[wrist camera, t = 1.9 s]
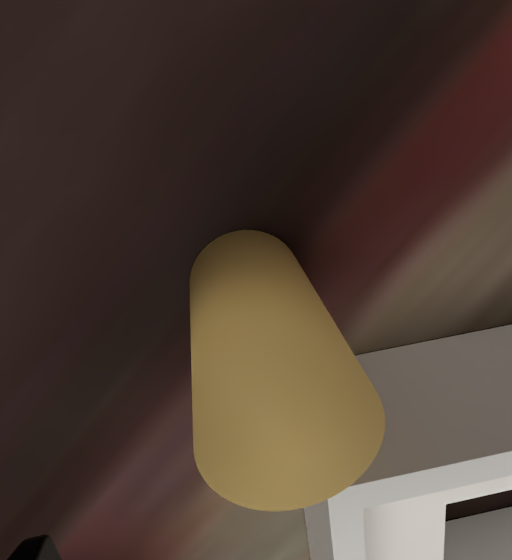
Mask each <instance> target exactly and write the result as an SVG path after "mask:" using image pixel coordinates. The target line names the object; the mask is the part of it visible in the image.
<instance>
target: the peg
mask: <svg viewBox="0 0 512 560" xmlns="http://www.w3.org/2000/svg"><path fill="white" fill-rule="evenodd" d="M190 326H191V368H192V409H193V451H194V457H195V462H196V464H197V467H198V470H199V472H200V474H201V475H202V477H203V479H204V480H205V481H206V483H207V484H208V485H209V486H210V487H211V488H212V489H213V490H214V491H215V492H216V493H217V494H219V495H220V496H222V497H223V498H225V499H227V500H229V501H231V502H232V503H234V504H237V505H240V506H243V507H246V508H250V509H255V510H262V511H288V510H294V509H300V508H304V507H308V506H312V505H315V504H317V503H320V502H323V501H325V500H327V499H329V498H331V497H333V496H335V495H337V494H338V493H340V492H342V491H343V490H345V489H346V488H347V487H349V486H350V485H351V484H353V483H354V482H355V481H356V480H357V479H358V478H359V477H360V476H361V475H362V474H363V473H364V472H365V471H366V470H367V469H368V467H369V466H370V465H371V463H372V462H373V460H374V459H375V457H376V455H377V453H378V451H379V449H380V446H381V444H382V441H383V437H384V432H385V414H384V409H383V405H382V402H381V400H380V398H379V395H378V393H377V392H376V390H375V388H374V387H373V385H372V383H371V382H370V380H369V378H368V377H367V375H366V373H365V372H364V370H363V368H362V367H361V365H360V364H359V362H358V360H357V359H356V357H355V355H354V354H353V352H352V350H351V349H350V347H349V345H348V344H347V342H346V340H345V339H344V337H343V335H342V334H341V332H340V330H339V329H338V327H337V326H336V324H335V322H334V321H333V319H332V317H331V316H330V314H329V312H328V311H327V309H326V307H325V306H324V304H323V302H322V301H321V299H320V297H319V296H318V294H317V292H316V291H315V289H314V288H313V286H312V284H311V283H310V281H309V279H308V278H307V276H306V274H305V273H304V271H303V269H302V268H301V266H300V264H299V263H298V261H297V259H296V258H295V256H294V254H293V253H292V252H291V250H290V249H289V248H288V247H287V246H286V245H285V244H284V243H283V242H282V241H281V240H279V239H278V238H276V237H274V236H273V235H270V234H268V233H265V232H261V231H256V230H239V231H234V232H230V233H227V234H224V235H222V236H220V237H218V238H216V239H215V240H213V241H212V242H211V243H209V244H208V245H207V246H206V247H205V248H204V249H203V250H202V251H201V252H200V254H199V255H198V257H197V258H196V260H195V262H194V264H193V267H192V270H191V274H190Z"/></svg>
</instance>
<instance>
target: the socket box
mask: <svg viewBox="0 0 512 560" xmlns="http://www.w3.org/2000/svg"><path fill="white" fill-rule="evenodd" d="M355 357H356V359H357V360H358V362H359V364H360V365H361V367H362V368H363V370H364V372H365V373H366V375H367V377H368V378H369V380H370V382H371V383H372V385H373V387H374V388H375V390H376V392H377V393H378V395H379V398H380V400H381V402H382V405H383V409H384V414H385V432H384V437H383V441H382V444H381V446H380V449H379V451H378V453H377V455H376V457H375V459H374V460H373V462H372V463H371V465H370V466H369V467H368V469H367V470H366V471H365V472H364V473H363V474H362V475H361V476H360V477H359V478H358V479H357V480H356V481H355V482H354V483H353V484H351V485H350V486H349V487H347V488H346V489H345V490H343V491H342V492H340V493H338V494H337V495H335V496H333V497H331V498H329V499H327V500H325V501H323V502H320V503H317V504H315V505H312V506H308V507H304V514H305V522H306V529H307V537H308V544H309V552H310V559H311V560H512V507H508V508H503V509H499V510H494V511H490V512H486V513H481V514H477V515H473V516H468V517H464V518H459V519H455V520H451V521H446V522H445V515H446V504H450V503H454V502H459V501H463V500H468V499H472V498H477V497H481V496H486V495H490V494H494V493H499V492H503V491H508V490H512V324H511V325H506V326H501V327H496V328H491V329H486V330H481V331H476V332H471V333H466V334H461V335H456V336H451V337H446V338H441V339H436V340H431V341H426V342H421V343H416V344H411V345H406V346H401V347H396V348H391V349H386V350H381V351H376V352H371V353H366V354H360V355H355Z"/></svg>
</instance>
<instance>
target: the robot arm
mask: <svg viewBox="0 0 512 560" xmlns="http://www.w3.org/2000/svg"><path fill="white" fill-rule="evenodd" d="M7 560H62V559H61V557H60V555H59V553H58V551H57V548H56V546H55V544H54V542H53V540H52V538H51V537H50V536H49V535H41V536H36V537H32V538H28V539H25V540H24V541H22V542H21V543H20V544H19V545H18V547H17V548H16V549H15V550H14V552H13V553H12V554H11V555H10V557H9V558H8V559H7Z"/></svg>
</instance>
